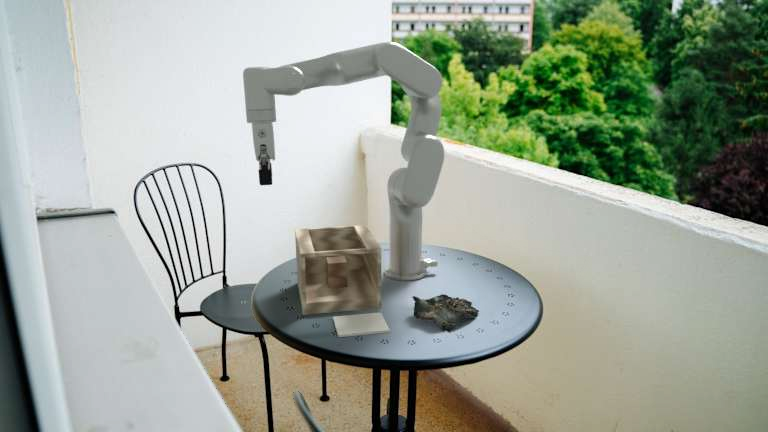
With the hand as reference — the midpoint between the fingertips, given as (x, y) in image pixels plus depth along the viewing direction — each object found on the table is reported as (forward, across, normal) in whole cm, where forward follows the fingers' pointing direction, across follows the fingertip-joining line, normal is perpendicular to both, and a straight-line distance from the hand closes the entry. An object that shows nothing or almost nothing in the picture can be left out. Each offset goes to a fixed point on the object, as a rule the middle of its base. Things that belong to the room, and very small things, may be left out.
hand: (266, 181), depth 154 cm
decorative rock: (+32, -26, -42) cm, 59 cm away
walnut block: (+28, -9, -17) cm, 33 cm away
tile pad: (+31, -29, -20) cm, 47 cm away
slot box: (+31, -9, -17) cm, 36 cm away
